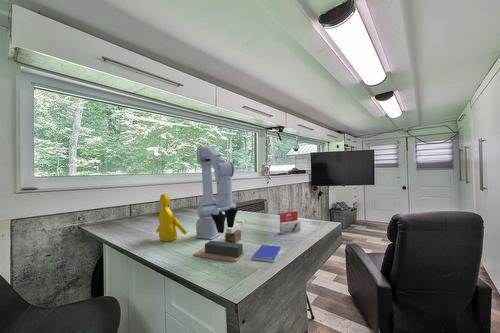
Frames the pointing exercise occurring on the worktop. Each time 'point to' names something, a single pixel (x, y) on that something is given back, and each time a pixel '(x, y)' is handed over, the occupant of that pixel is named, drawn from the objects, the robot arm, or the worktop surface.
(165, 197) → the figure statuette
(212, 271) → the worktop surface
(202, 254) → the mat
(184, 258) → the worktop surface
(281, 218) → the ink cartridge box
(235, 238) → the block
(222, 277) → the worktop surface
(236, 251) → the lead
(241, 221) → the strap
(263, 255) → the hard drive
